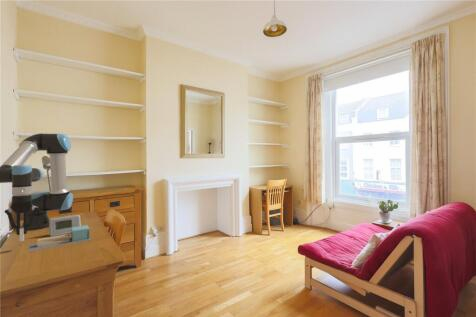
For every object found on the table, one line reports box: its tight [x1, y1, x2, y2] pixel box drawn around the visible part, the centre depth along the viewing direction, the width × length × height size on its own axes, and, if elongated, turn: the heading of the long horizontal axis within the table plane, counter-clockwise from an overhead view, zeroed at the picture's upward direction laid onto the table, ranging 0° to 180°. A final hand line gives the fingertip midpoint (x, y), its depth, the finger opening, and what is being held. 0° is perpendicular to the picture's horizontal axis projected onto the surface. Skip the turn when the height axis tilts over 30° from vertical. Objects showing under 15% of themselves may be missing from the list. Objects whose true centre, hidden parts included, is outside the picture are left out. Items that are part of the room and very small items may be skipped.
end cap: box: [70, 224, 90, 242], centre depth 137 cm, size 9×8×6 cm
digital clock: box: [48, 214, 82, 237], centre depth 147 cm, size 16×9×11 cm, turn 123°
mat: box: [27, 236, 92, 252], centre depth 131 cm, size 12×27×1 cm, turn 129°
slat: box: [36, 233, 71, 247], centre depth 129 cm, size 4×14×3 cm, turn 129°
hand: (21, 240), depth 121 cm, fingers closed
